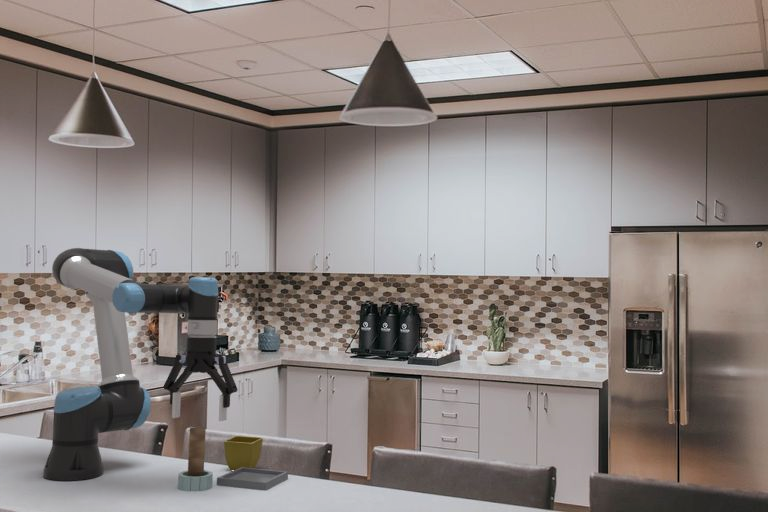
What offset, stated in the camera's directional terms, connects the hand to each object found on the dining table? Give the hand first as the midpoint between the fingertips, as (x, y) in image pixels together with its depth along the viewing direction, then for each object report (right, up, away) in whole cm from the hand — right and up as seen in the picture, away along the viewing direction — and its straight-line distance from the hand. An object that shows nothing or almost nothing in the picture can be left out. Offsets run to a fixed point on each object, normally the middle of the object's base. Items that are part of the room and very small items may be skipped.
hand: (199, 419), depth 199 cm
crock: (-1, -18, -1) cm, 18 cm away
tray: (+13, -19, +7) cm, 24 cm away
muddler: (-1, -17, -1) cm, 17 cm away
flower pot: (+7, -20, +22) cm, 31 cm away
